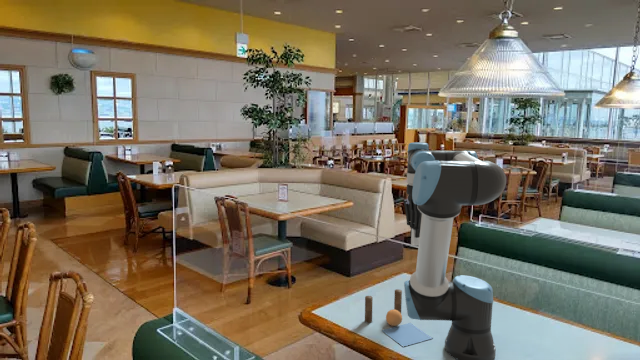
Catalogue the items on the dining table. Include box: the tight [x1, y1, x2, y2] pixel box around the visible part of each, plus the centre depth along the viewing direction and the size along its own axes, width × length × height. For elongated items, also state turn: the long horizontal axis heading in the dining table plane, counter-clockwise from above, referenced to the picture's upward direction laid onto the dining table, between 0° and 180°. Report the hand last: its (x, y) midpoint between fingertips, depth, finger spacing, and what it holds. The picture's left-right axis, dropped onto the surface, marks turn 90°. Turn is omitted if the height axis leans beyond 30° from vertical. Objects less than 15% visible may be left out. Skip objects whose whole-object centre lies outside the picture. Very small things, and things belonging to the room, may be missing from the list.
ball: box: [385, 309, 403, 327], centre depth 159 cm, size 6×6×6 cm
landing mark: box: [381, 322, 433, 348], centre depth 152 cm, size 12×12×1 cm
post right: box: [393, 289, 403, 314], centre depth 167 cm, size 3×3×9 cm
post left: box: [364, 295, 374, 324], centre depth 161 cm, size 3×3×9 cm
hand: (415, 245), depth 173 cm, fingers closed
